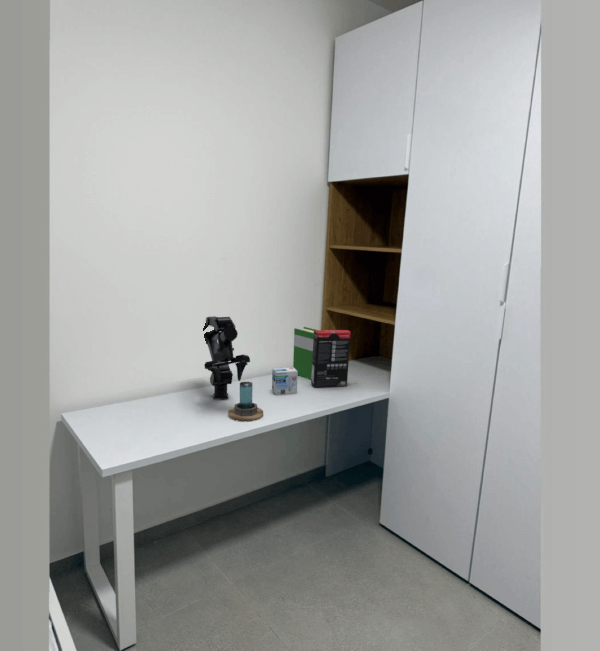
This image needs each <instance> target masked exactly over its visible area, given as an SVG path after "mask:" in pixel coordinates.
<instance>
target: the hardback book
mask: <svg viewBox="0 0 600 651" xmlns="http://www.w3.org/2000/svg"><path fill="white" fill-rule="evenodd" d="M293 330H294V331H293V334H294V335H293V362H292V364H293V366H292V367H294V368H295V369H296V370H297V371H298V376H299V377H301V378H304V379H306V380H309V381H311V374H312V357H313V338H314V330H317V329H315V328H313V327H306V326H304V327H303V328H294V329H293ZM298 376H297V377H298Z"/></svg>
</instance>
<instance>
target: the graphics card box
mask: <svg viewBox="0 0 600 651" xmlns="http://www.w3.org/2000/svg"><path fill="white" fill-rule="evenodd" d="M351 337H352V335H351V331H350V330H348V329H337V330H336V329H332V330H331V329H327V330H323V329H322V330H321V329H320V330H319V329H316V330H314V338H313V357H312V374H311V380H310V384H311V385H312V386H313V388H329V387H330V388H333V387H334V388H338V387H347V386H348V377H349V376H348V375H349V362H350V360H349V359H350V347H351Z"/></svg>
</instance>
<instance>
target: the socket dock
mask: <svg viewBox="0 0 600 651" xmlns="http://www.w3.org/2000/svg"><path fill="white" fill-rule="evenodd" d="M227 416H228V417H229V419H231V418H232V419H231V420H233V419H234V420H233V421H236V420H238V421H237V422H244V421H247V422H254V421H253V420H255V421H258V420H260V419H262V418H263V417H264V410H263V409H262V408H260V407H258V404H257V403H255V402H252V408H251V409H241V408H240V402H238V403H234V407H232V408H230V409H229V410H228V415H227ZM262 416H263V417H262ZM261 417H262V418H261ZM257 419H258V420H257Z"/></svg>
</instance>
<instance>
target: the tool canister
mask: <svg viewBox="0 0 600 651" xmlns="http://www.w3.org/2000/svg"><path fill="white" fill-rule="evenodd" d="M239 403H240V408H241V409H251V408H252V403H253V382H252V381H240V382H239Z"/></svg>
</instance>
